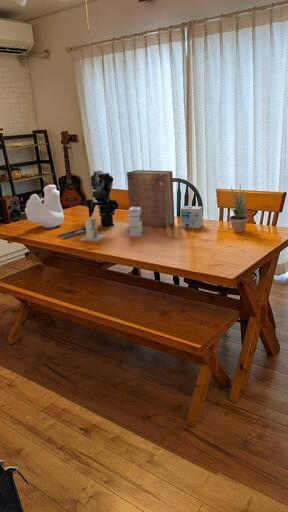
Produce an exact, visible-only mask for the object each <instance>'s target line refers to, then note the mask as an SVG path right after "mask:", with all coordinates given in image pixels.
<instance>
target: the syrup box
mask: <svg viewBox="0 0 288 512" xmlns="http://www.w3.org/2000/svg"><path fill="white" fill-rule="evenodd" d="M127 215H128V225H129V226H128V227H129V235H130V237H141V236H142V235H143V234H144V230H143V225H142V216H141V207H131V208H130V207H129V209H128V210H127Z"/></svg>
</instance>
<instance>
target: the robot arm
mask: <svg viewBox="0 0 288 512" xmlns="http://www.w3.org/2000/svg"><path fill="white" fill-rule="evenodd" d="M89 180H90V181H89V182H90V183H89V184H90V187H91V188H92V194H91V195H92V198H94V200H93V199H91V198H86V199H84V201H83V203H84V205H85V207H86V208H87V209H88V216H89V218H91V217H93V216H92V215H93V214H94V211H95V208H96V206H98V212H97V213H98V216H99V217H100V218H99V220H100V226H102V227H103V228H104V227H105V228H106V227H112V226H115V224H114V219H113V217H114V215H115V214H116V210H119V206H120V205H119V203H118V202H117V200H116V199H112V198H111V197H110V195H111V192H112V189H113V183H114V177H113V176H112V175H111V174H110V172H103V171H102V170H95V171H93V174H92V175H91V176H90V178H89Z"/></svg>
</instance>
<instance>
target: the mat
mask: <svg viewBox="0 0 288 512" xmlns="http://www.w3.org/2000/svg"><path fill="white" fill-rule="evenodd" d="M104 237H107V234H98V236H97V237H95V238H93V239H87V234H86V235H84V236H83V237H80V238H79V239H78V241H89V242H99V241H101V240H102V239H103V238H104Z"/></svg>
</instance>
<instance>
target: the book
mask: <svg viewBox="0 0 288 512" xmlns="http://www.w3.org/2000/svg"><path fill="white" fill-rule="evenodd" d="M173 177H174V176H173V171H172V170H148V169H147V170H144V169H143V170H142V169H141V170H140V169H137V170H132V171H127V172H126V179H127V181H126V182H127V191H128V203H129V209H130V208H131V207H141V216H142V226H147V227H156V228H162V229H167V227H168V226H170V225H175V223H176V222H175V204H174V203H175V201H174V200H175V199H174V198H175V197H174V180H173V179H174V178H173Z"/></svg>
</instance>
